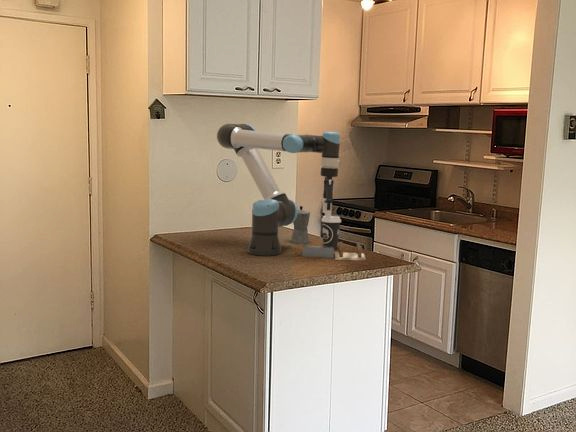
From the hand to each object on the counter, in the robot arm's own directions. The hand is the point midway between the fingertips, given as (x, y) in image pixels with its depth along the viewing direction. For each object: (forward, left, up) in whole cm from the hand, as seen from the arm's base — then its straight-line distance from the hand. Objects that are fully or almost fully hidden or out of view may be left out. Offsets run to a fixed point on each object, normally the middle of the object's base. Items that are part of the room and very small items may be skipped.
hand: (326, 215), depth 275 cm
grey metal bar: (-4, -4, -18) cm, 19 cm away
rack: (+11, -4, -18) cm, 21 cm away
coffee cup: (+3, +16, -18) cm, 25 cm away
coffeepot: (-12, +30, -18) cm, 37 cm away
